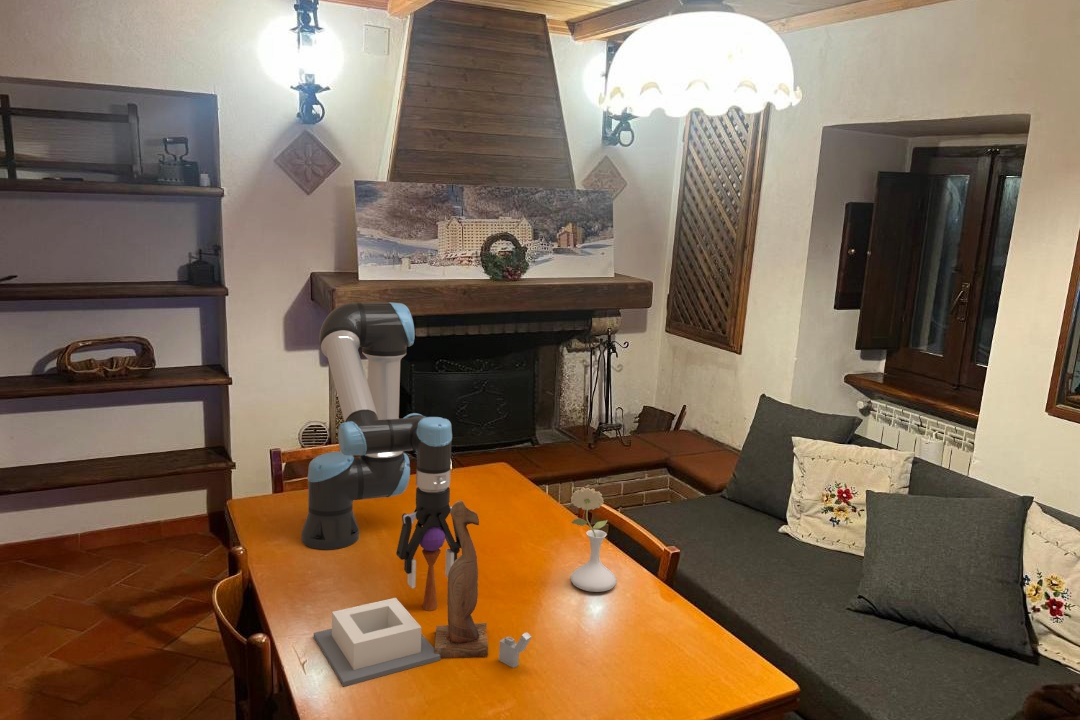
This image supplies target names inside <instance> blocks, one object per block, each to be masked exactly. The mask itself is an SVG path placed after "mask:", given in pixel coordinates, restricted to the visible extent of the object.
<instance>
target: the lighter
mask: <svg viewBox="0 0 1080 720" xmlns="http://www.w3.org/2000/svg"><path fill="white" fill-rule="evenodd" d="M531 639H532V636H531V634H530V633H529V632H524V633H523V634H521V636H520V638H519V640H518V641H517V643H516V639H514V638H513V637H511V636H505V637H504V638H502V639H500V640H499V649H498V661H499V662H501V663H502V664H505V665H507V666H509V667H510V668H513V669H514V668H516V667H518V666H519V665H520V664H519V660H520V653H522V652H524V651H526V648H527V646H528V644H529V642H530V641H531Z"/></svg>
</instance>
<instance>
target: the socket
mask: <svg viewBox="0 0 1080 720" xmlns="http://www.w3.org/2000/svg"><path fill="white" fill-rule="evenodd" d="M331 615H332V616H331V628H328V629H324V630H320V631H317V632H316V631H315V632H313V639H314V641H315V643H317V646H318V647H319V648H320V650H321V651H322V654H323V655H324V657H325V658H326V660H327V662H328V663H329V665H330V667H331V669H332V670H333V671H334V673H335V675H336V676H337V678H338V680H339V682H340V683H341V685H342V686H343V688H344V687H349V686H353V685H355V684H358V683H362V682H367V681H370V680H374V679H376V678H377V679H378V678H381V677H384V676H388V675H391V674H392V675H393V674H395V673H398V672H402V671H406V670H409V669H413V668H417V667H420V666H424V665H427V664H432V663H436V662H438V661H441V659H440V655H439V654H435V653H434V652H435V647H434V646H433V645H432V644H431V643H430V641H429V640H428V639H427V638H426V637H425V636H424V635H423V633H422V625H420V624H419V622H417V621H416V619H415V618H414V617H413V616H412V615H411V614H410V612H409V611H408V610H407V609H406V607H404V605H403V604H402V603H401V602H400V601H399V600H398V598H397V597H392V598H388V599H384V600H379V601H374V602H369V603H366V604H360V605H357V606H352V607H347V608H344V609H343V608H342V609H339V610H333V611H332V612H331Z"/></svg>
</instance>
